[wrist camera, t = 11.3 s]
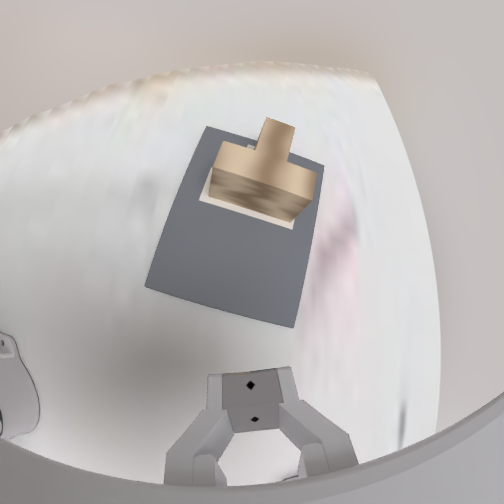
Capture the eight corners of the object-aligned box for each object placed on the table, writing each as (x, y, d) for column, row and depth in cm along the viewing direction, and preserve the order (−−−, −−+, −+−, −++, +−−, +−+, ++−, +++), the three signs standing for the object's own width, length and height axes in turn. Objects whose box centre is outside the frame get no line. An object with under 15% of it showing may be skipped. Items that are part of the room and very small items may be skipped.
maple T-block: (208, 196, 38) (212, 166, 30) (229, 142, 40) (237, 108, 33) (290, 222, 39) (312, 200, 31) (302, 166, 42) (322, 138, 34)
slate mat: (145, 286, 34) (144, 286, 33) (206, 128, 41) (206, 126, 40) (292, 328, 36) (293, 328, 36) (322, 167, 43) (324, 165, 43)
